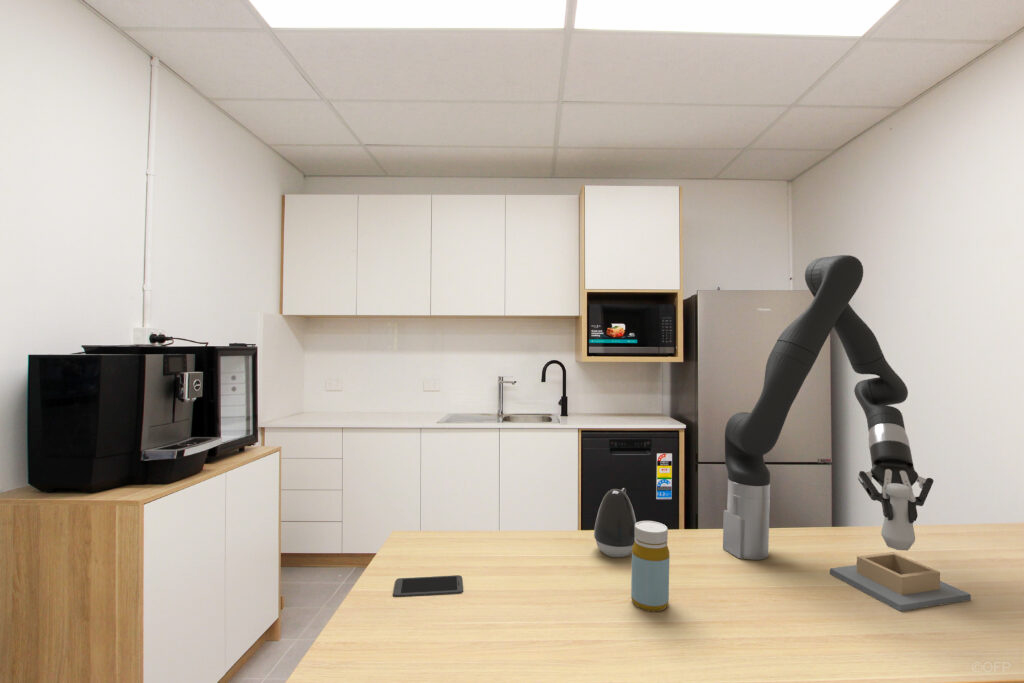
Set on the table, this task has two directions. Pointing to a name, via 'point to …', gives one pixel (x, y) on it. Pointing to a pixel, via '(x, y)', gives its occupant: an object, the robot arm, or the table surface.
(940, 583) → the holder
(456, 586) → the cell phone
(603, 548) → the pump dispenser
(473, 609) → the table surface
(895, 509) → the salt shaker
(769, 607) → the table surface
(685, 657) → the table surface
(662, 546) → the bottle
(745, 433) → the robot arm
